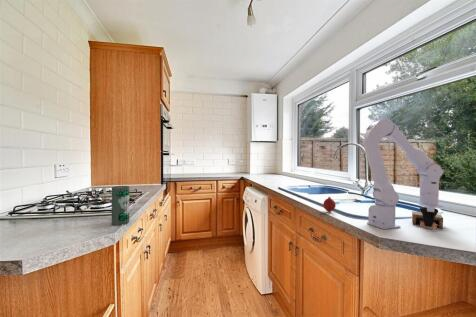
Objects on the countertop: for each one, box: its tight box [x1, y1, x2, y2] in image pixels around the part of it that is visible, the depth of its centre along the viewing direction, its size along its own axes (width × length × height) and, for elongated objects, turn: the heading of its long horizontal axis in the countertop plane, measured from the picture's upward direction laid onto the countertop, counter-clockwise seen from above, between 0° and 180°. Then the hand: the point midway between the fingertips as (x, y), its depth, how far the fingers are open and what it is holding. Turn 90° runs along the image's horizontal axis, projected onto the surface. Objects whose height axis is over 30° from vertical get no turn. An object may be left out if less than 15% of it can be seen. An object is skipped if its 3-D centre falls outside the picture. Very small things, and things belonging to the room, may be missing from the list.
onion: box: [322, 196, 337, 213], centre depth 112 cm, size 6×6×8 cm
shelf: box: [411, 211, 444, 230], centre depth 93 cm, size 6×10×4 cm, turn 54°
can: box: [111, 185, 130, 226], centre depth 90 cm, size 6×6×15 cm
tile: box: [418, 219, 438, 230], centre depth 91 cm, size 6×5×2 cm
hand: (428, 226), depth 88 cm, fingers closed
